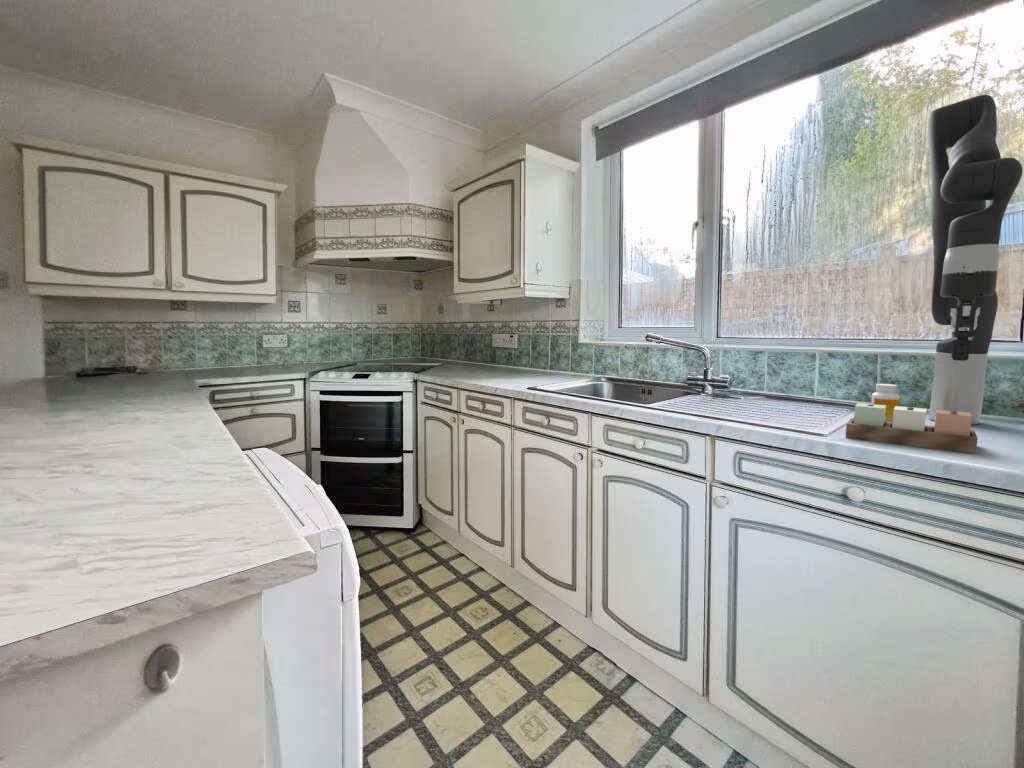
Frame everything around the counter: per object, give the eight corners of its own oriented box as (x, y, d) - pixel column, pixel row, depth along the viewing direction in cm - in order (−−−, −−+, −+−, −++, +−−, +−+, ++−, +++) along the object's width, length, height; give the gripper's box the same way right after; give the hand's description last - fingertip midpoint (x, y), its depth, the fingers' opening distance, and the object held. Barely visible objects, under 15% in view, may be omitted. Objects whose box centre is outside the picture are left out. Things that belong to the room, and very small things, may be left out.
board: (845, 437, 99) (846, 423, 99) (850, 430, 106) (852, 417, 106) (975, 454, 86) (977, 438, 86) (972, 444, 92) (974, 430, 92)
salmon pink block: (934, 432, 91) (936, 412, 91) (934, 428, 95) (936, 408, 94) (969, 436, 88) (972, 415, 87) (968, 432, 91) (970, 411, 91)
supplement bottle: (902, 426, 110) (906, 386, 109) (876, 425, 111) (880, 385, 110) (888, 421, 115) (892, 383, 114) (864, 420, 116) (868, 383, 115)
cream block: (891, 428, 95) (893, 408, 95) (893, 424, 99) (895, 405, 99) (924, 431, 92) (926, 411, 92) (924, 427, 96) (926, 407, 95)
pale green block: (853, 423, 100) (855, 404, 99) (856, 420, 103) (857, 402, 103) (882, 427, 96) (884, 407, 96) (884, 423, 100) (886, 404, 100)
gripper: (942, 276, 95) (933, 357, 97) (943, 269, 85) (933, 360, 87) (994, 273, 90) (983, 358, 92) (1002, 266, 80) (990, 362, 82)
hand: (959, 359), depth 89 cm, fingers open, 5 cm apart
